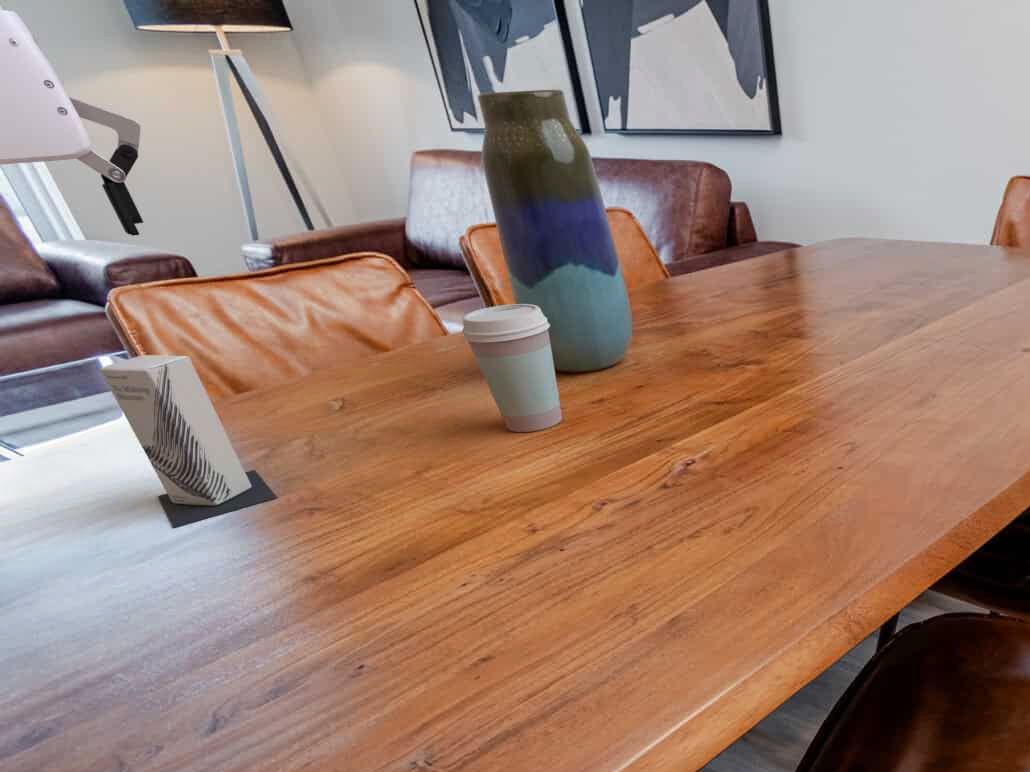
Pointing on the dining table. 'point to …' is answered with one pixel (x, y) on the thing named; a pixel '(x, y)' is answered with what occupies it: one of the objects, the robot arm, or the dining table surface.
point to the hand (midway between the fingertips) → (60, 242)
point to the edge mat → (193, 513)
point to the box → (177, 428)
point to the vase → (555, 227)
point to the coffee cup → (516, 363)
